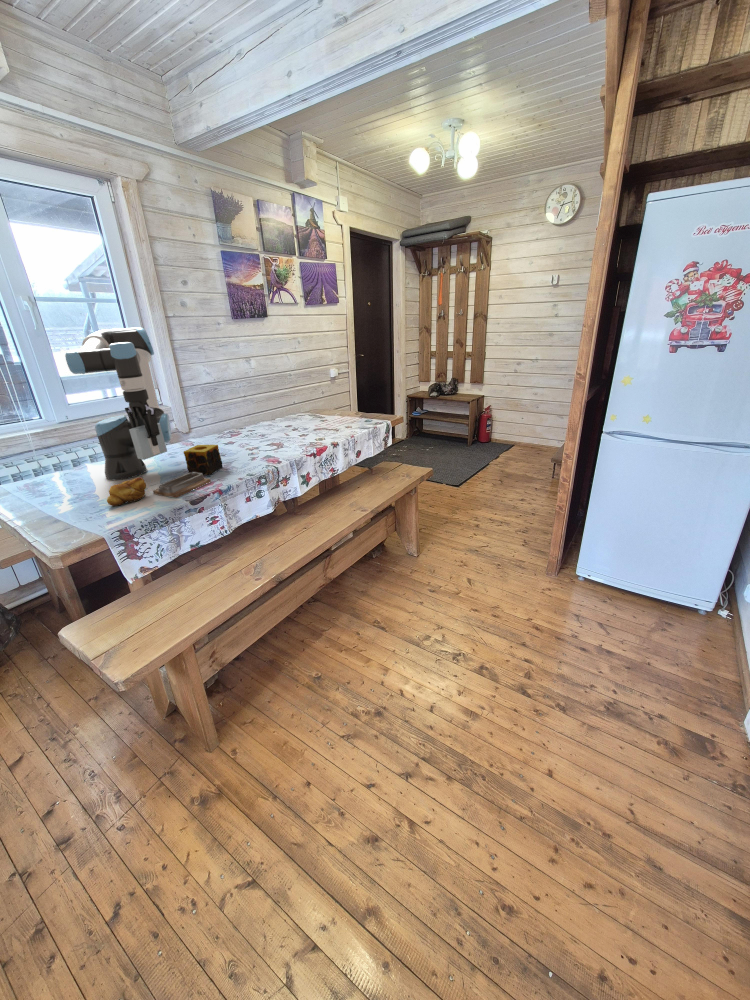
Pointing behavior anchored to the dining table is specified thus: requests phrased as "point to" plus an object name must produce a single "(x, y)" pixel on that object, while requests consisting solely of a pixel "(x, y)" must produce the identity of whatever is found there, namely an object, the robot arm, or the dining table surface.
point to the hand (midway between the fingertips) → (152, 453)
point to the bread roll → (126, 492)
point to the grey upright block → (146, 442)
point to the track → (181, 485)
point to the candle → (203, 459)
